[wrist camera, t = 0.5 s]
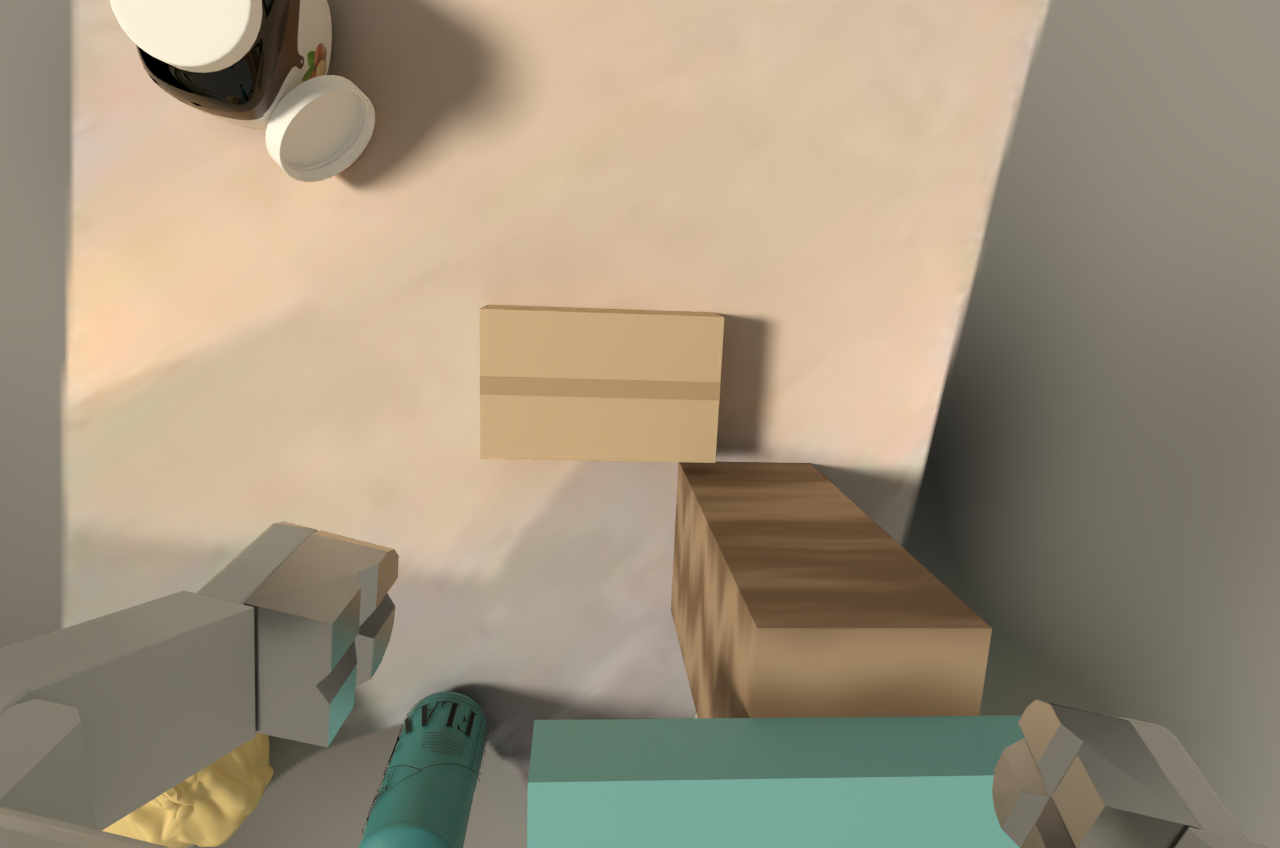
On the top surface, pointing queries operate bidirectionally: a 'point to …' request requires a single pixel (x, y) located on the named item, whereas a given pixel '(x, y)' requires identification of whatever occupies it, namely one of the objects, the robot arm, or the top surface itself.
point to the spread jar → (257, 74)
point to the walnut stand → (811, 604)
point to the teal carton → (767, 782)
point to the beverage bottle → (430, 776)
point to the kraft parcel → (599, 384)
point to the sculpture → (204, 801)
